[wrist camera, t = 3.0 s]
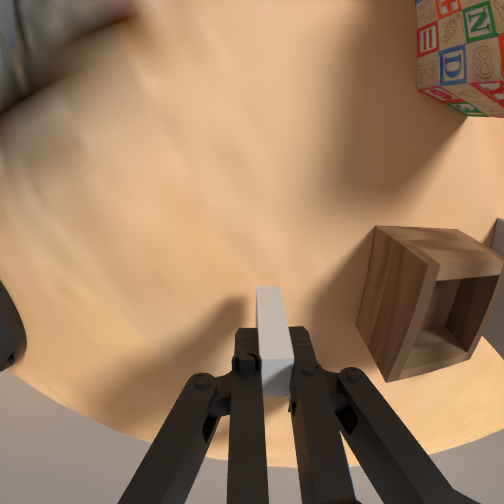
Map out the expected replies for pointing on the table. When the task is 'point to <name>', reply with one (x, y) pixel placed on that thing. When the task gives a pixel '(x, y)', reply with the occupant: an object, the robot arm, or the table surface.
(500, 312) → the wall
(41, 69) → the table surface
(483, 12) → the stack of blocks
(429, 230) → the slider block
